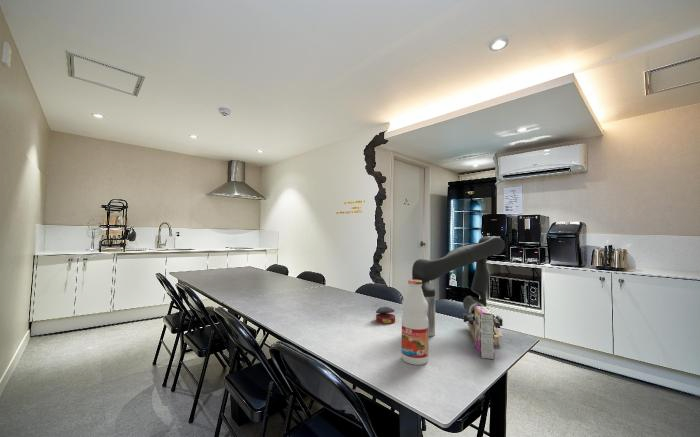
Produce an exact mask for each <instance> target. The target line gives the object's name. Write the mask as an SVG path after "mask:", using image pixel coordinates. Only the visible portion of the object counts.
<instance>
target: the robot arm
mask: <svg viewBox="0 0 700 437" xmlns="http://www.w3.org/2000/svg"><path fill="white" fill-rule="evenodd" d="M505 244H506V243H505V241H504V240H503V239H502V238H501V237H499V236H496V235H495V236H494V235H493V236H492V235H491V236H490V235H489V236H482V237H480V239H479V240H478V243H474V244H469V245H463V246H459V247H457V248H454V249H451V250H450V251H449V252H447V253H446V255H445V256H443V257H441V258H437V259H431V260H430V259H422V258H420V259H416V260H415V261H414V262H413V265H412V269H411V273H412V274H411V275H412V276H411V277H412V278H411V280H421V281H422V286H421V288H422V292H423V295H424V297H425V299H426V301H427V303H428V311H427V317H428V324H429V327H428V338H430V337H433V336H435V335H436V290H435V288H434V287H433V286H432V284H431V283H430V282H431V281H434V280H437V279H439V278H440V277H442V276H444V275H445V274H447V273H449V272H452V271H456V270H458V269H460V268H464V267H466V266H468V265H470V264H473V263H475V271H474V276H473V279H472V282H471V283H472V284H471V287H470V288H471V289H470V290H471V291H472V292H473V293H475V294H477V295H478V296H479V298H478V297H474V296H471V295H467V296H465V297H464V298H463V301H462V306H463V309H464V310H465V311H467V312H465V311H463V323H467V322H468V323H469V324H471V325H473V323H475V306H482V307H487V308H488V306H487V292H488V287H489V284H490V283H489V282H490V273H489V269H488V265H487V260H488V257H492V256H495V255H496V256H497V255H500V254H501V253H502V252H503V251H504V249H505ZM468 313H469V314H468ZM494 326H495V328H498V329H499V328H500V327H503V326H504V325H503V318H502V317H501V316H499V315H496V316H495V317H494Z"/></svg>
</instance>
